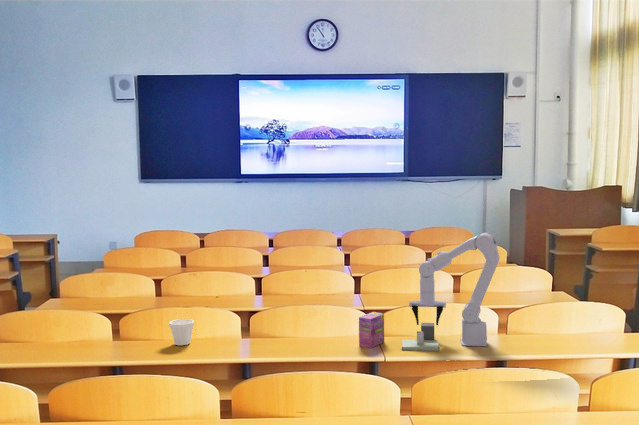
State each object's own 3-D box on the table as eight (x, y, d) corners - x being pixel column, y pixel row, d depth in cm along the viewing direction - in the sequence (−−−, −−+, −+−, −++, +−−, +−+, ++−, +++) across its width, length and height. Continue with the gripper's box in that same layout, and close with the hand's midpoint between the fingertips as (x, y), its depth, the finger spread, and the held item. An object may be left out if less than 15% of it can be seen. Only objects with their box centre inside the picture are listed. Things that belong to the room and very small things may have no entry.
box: (371, 348, 244) (370, 318, 243) (358, 346, 247) (358, 316, 246) (385, 342, 252) (384, 313, 251) (372, 340, 255) (372, 311, 255)
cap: (434, 338, 255) (434, 322, 255) (434, 342, 250) (434, 326, 250) (421, 338, 256) (421, 322, 255) (421, 342, 251) (421, 325, 250)
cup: (197, 340, 260) (197, 318, 260) (190, 347, 250) (189, 324, 250) (174, 340, 261) (173, 318, 261) (166, 347, 251) (165, 324, 251)
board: (438, 343, 248) (438, 340, 248) (438, 350, 239) (438, 347, 238) (402, 342, 251) (402, 339, 251) (401, 350, 241) (401, 346, 241)
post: (423, 342, 246) (423, 331, 245) (423, 344, 243) (423, 333, 243) (416, 342, 246) (416, 331, 246) (416, 344, 243) (416, 333, 243)
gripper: (445, 289, 254) (445, 322, 255) (409, 289, 257) (409, 321, 258) (446, 293, 247) (446, 326, 248) (408, 292, 250) (409, 326, 251)
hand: (427, 324), depth 253 cm, fingers open, 7 cm apart
